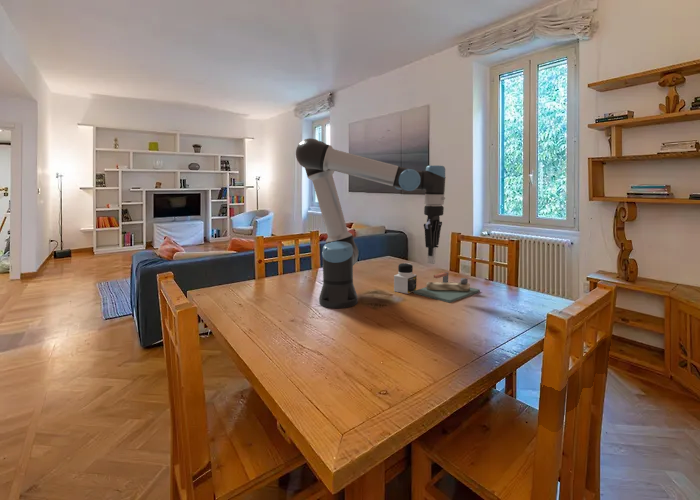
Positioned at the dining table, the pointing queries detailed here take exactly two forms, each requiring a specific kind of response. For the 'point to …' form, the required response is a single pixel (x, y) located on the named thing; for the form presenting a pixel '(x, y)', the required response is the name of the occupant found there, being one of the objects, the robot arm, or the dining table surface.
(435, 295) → the pintle board
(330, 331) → the dining table surface
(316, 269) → the dining table surface
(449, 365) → the dining table surface
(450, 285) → the beige lumpy bar
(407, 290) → the medicine bottle
